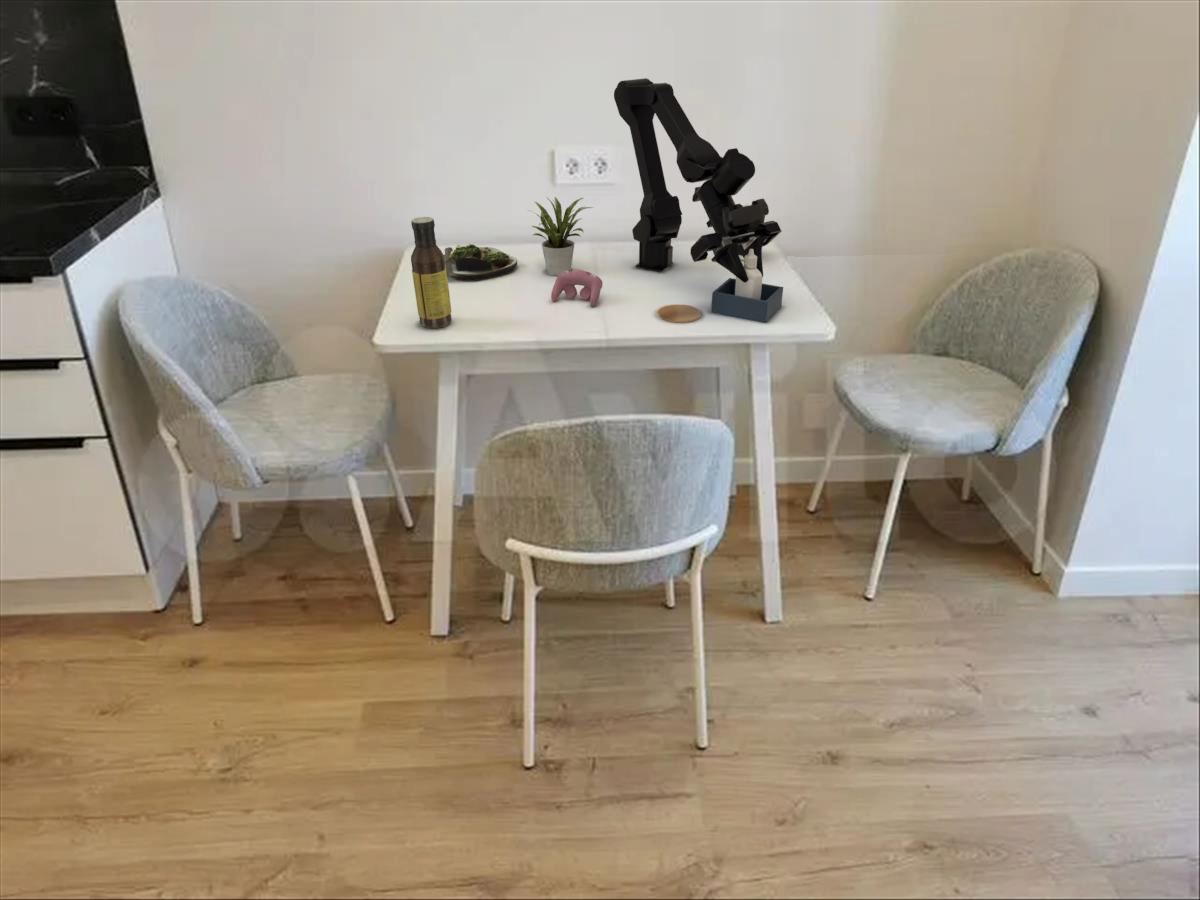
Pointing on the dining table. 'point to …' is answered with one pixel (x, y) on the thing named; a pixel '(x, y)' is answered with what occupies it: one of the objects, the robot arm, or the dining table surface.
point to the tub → (746, 302)
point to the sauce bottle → (429, 276)
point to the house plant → (558, 237)
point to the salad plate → (477, 262)
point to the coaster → (679, 313)
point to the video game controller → (577, 277)
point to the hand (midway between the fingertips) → (753, 279)
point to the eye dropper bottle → (750, 278)
